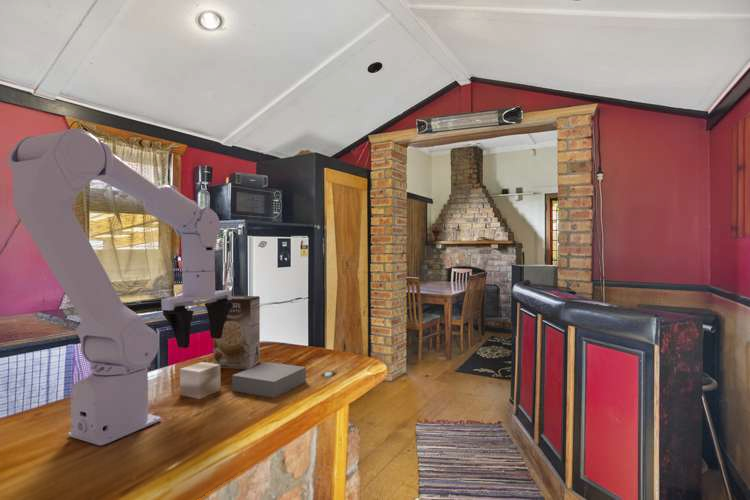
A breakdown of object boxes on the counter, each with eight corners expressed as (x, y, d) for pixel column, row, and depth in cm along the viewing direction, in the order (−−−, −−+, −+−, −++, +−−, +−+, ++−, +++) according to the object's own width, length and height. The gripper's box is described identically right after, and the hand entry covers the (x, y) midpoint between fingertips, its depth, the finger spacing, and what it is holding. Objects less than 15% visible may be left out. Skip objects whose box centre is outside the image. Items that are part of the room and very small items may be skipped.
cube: (199, 399, 74) (199, 371, 74) (180, 395, 76) (179, 368, 76) (220, 390, 79) (220, 364, 79) (201, 387, 81) (201, 362, 81)
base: (274, 398, 74) (274, 381, 74) (232, 390, 78) (232, 375, 78) (305, 381, 83) (305, 367, 83) (266, 376, 87) (266, 361, 87)
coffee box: (211, 368, 93) (211, 298, 93) (224, 361, 100) (224, 295, 100) (250, 369, 92) (249, 298, 92) (261, 361, 99) (260, 295, 99)
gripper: (213, 268, 86) (214, 332, 86) (149, 273, 73) (151, 349, 73) (238, 268, 83) (240, 335, 83) (176, 274, 70) (178, 353, 70)
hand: (200, 342), depth 78 cm, fingers open, 7 cm apart
